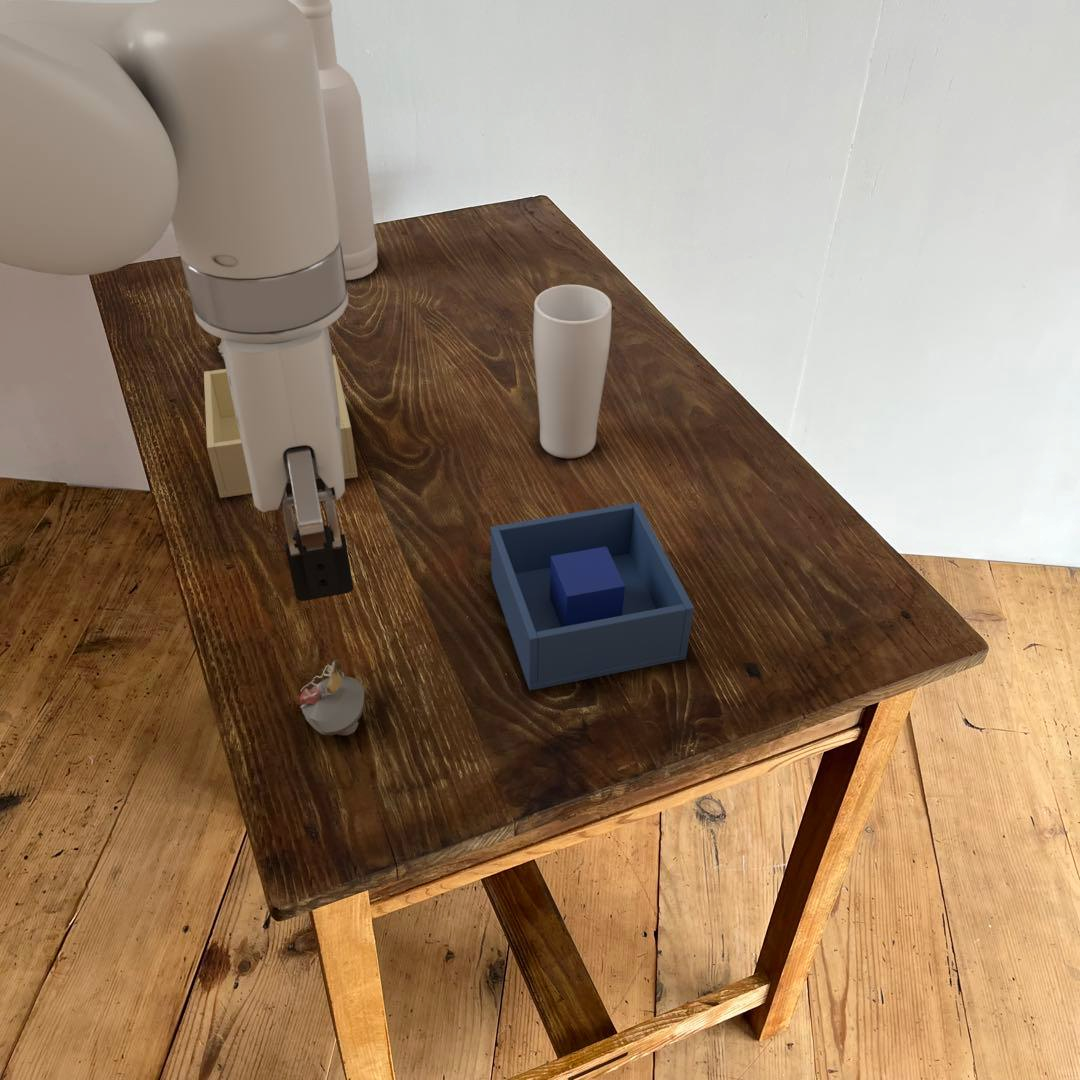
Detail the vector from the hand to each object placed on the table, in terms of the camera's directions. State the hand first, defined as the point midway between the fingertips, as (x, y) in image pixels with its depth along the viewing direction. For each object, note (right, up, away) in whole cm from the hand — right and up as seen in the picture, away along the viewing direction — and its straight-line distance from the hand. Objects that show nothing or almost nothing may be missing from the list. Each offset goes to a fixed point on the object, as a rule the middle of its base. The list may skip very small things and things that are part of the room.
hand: (316, 537), depth 61 cm
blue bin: (+17, -6, +19) cm, 26 cm away
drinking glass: (+16, +9, +35) cm, 40 cm away
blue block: (+17, -6, +18) cm, 25 cm away
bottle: (-10, +33, +61) cm, 70 cm away
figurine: (-1, -13, +11) cm, 17 cm away
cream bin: (-11, +9, +34) cm, 37 cm away
